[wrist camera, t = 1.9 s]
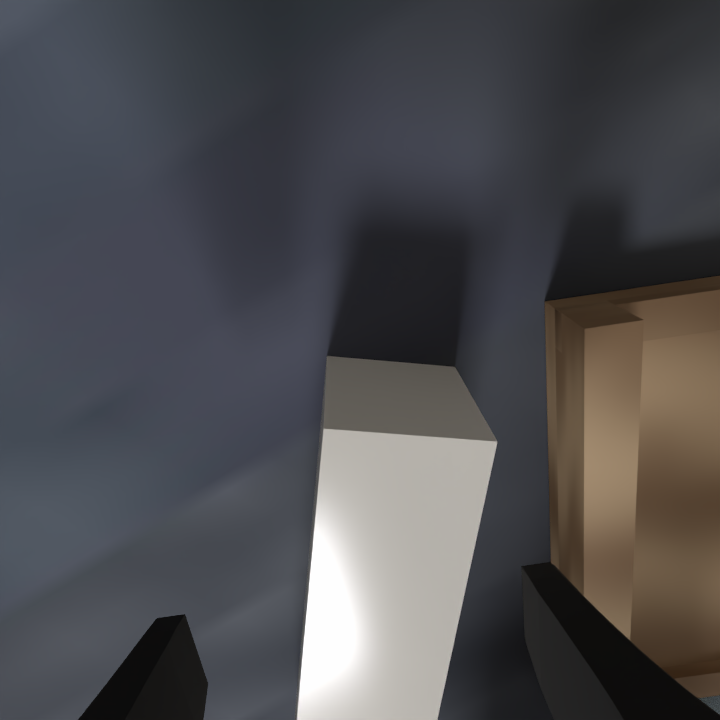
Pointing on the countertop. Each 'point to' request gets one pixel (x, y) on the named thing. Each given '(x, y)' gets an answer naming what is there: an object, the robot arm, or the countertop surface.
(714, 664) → the oak rack
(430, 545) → the light grey rectangular block
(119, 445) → the countertop surface
